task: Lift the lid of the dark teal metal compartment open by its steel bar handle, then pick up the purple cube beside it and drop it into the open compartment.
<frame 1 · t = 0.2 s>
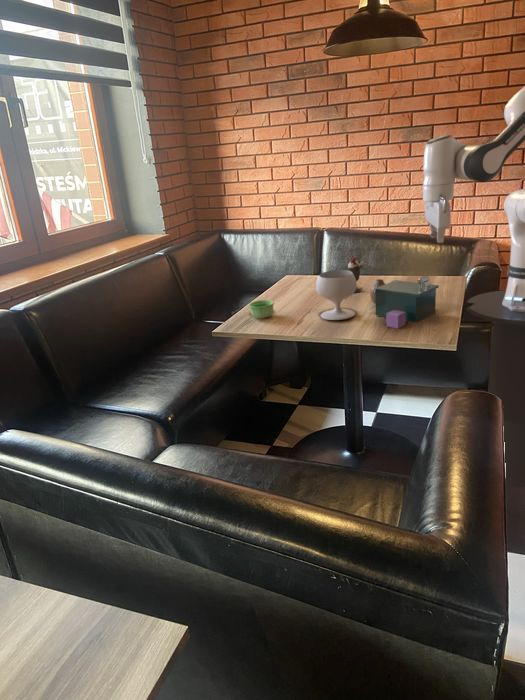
hand: (436, 239, 166), 26 cm above the table, tool pointing down, fingers open, 8 cm apart
purple cube: (395, 325, 174), on the table
compartment: (405, 313, 184), on the table
sundae: (354, 290, 218), on the table
chalice: (338, 316, 189), on the table
ramekin: (262, 315, 198), on the table
compartment lid: (406, 282, 180), point 11 cm above the table, hinge at 0.0°
vase: (380, 303, 199), on the table
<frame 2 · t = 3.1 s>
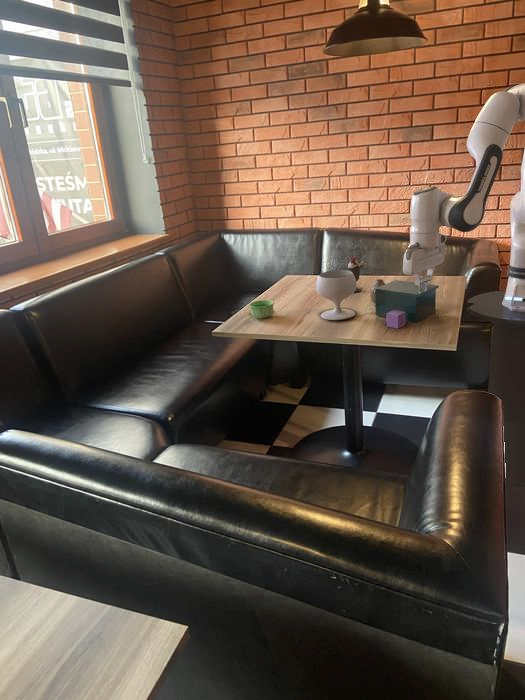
hand: (423, 282, 175), 12 cm above the table, tool pointing down, fingers closed on compartment lid, 5 cm apart
compartment lid: (406, 282, 180), point 11 cm above the table, hinge at -0.1°, touching gripper
everything else where it was.
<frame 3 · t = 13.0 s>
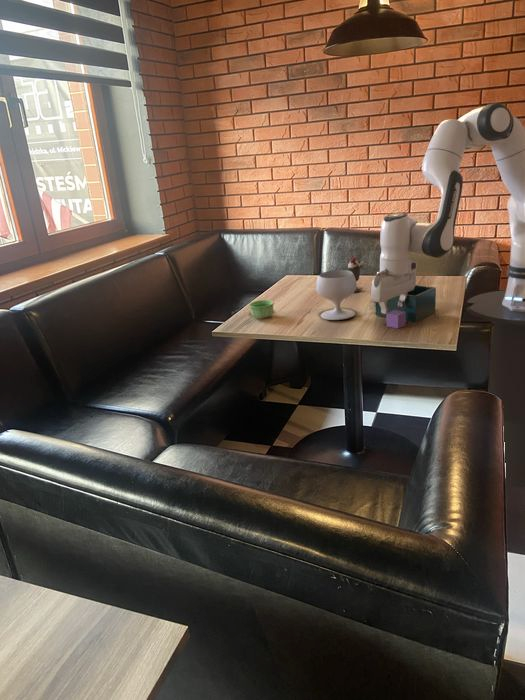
hand: (393, 309, 172), 6 cm above the table, tool pointing down, fingers open, 8 cm apart
compartment lid: (388, 261, 182), point 18 cm above the table, hinge at 67.7°
everything else where it was.
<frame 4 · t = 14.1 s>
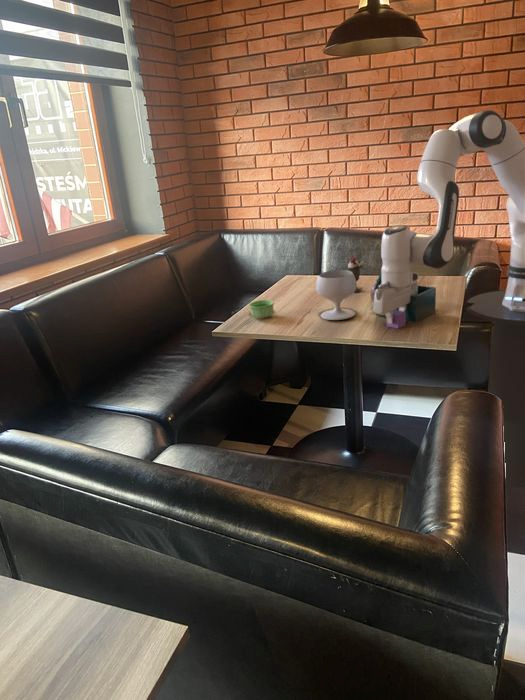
hand: (395, 320, 173), 2 cm above the table, tool pointing down, fingers closed on purple cube, 4 cm apart
purple cube: (395, 325, 174), on the table, touching gripper
everything else where it was.
when the fingers open (12 cm above the table, at t = 19.5 s): purple cube drops 10 cm, resting on compartment.
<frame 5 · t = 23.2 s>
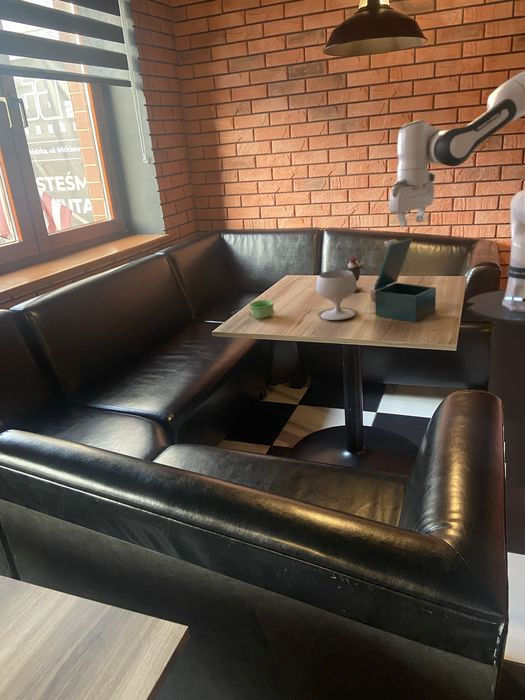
hand: (411, 224, 168), 31 cm above the table, tool pointing down, fingers open, 8 cm apart
purple cube: (409, 313, 182), point 1 cm above the table, touching compartment
compartment lid: (388, 261, 182), point 18 cm above the table, hinge at 68.4°
everything else where it was.
at the end: compartment lid at +68° (first picture: +0°); purple cube inside the target area in the compartment (2.2 cm from its centre), point 0.8 cm above the compartment's base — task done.
